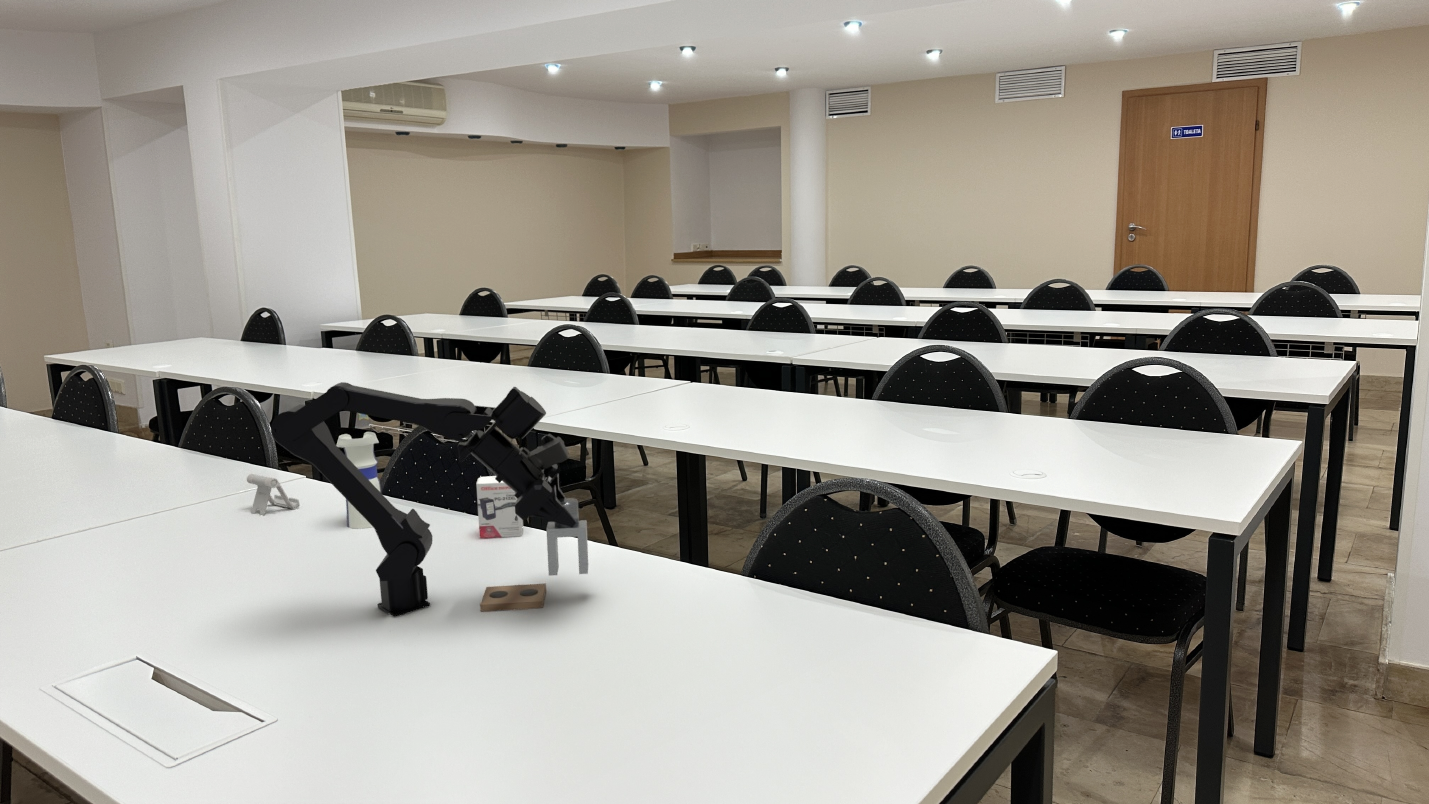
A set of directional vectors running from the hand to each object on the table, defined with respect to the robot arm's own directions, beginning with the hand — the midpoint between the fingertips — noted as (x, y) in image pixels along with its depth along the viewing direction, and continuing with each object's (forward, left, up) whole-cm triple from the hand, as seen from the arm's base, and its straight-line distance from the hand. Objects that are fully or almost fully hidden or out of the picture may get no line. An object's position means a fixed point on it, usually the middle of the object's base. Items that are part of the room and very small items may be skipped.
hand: (575, 520), depth 160 cm
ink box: (+9, +40, -14) cm, 43 cm away
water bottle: (-7, +69, -13) cm, 70 cm away
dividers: (-1, +1, -9) cm, 9 cm away
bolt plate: (-9, +7, -13) cm, 17 cm away
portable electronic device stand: (-17, +95, -14) cm, 97 cm away
